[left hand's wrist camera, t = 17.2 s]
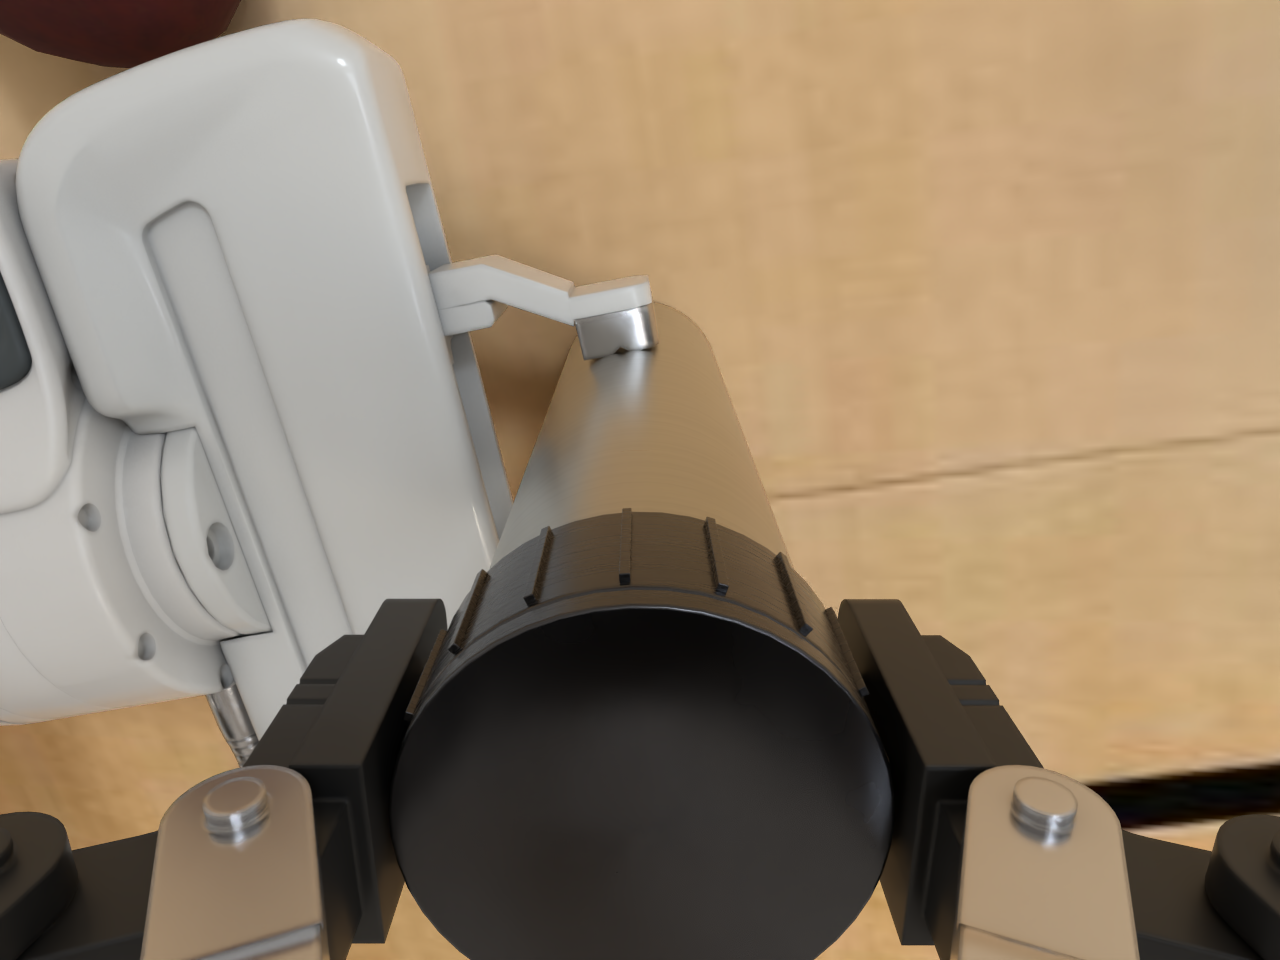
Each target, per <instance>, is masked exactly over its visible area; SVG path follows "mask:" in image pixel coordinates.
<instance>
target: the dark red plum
mask: <svg viewBox="0 0 1280 960" xmlns="http://www.w3.org/2000/svg"><path fill="white" fill-rule="evenodd" d="M240 1H241V0H0V34H2V35H4V36H6V37H9V38H11V39H13V40H15V41H17V42H19V43H21V44H23V45H25V46H27V47H29V48H31V49H33V50H35V51H38V52H42V53H46V54H50V55H55V56H59V57H63V58H67V59H72V60H76V61H81V62H86V63H90V64H95V65H100V66H107V67H120V68H133V67H135V66H138V65H140V64H143V63H145V62H148V61H151V60H153V59H156V58H159V57H162V56H165V55H167V54H170V53H173V52H176V51H178V50H181V49H184V48H187V47H190V46H194V45H197V44H200V43H203V42H206V41H209V40H213V39H216V38H217V37H218V36H219V35H220V34H222V33H223V32H224V31H225V30H226V29H227V27H228V25H229V23H230V21H231V19H232V17H233V15H234V13H235V11H236V9H237V7H238V5H239V3H240Z"/></svg>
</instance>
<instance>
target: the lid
mask: <svg viewBox="0 0 1280 960" xmlns="http://www.w3.org/2000/svg"><path fill="white" fill-rule="evenodd" d="M866 695H869V691H868V689H867V687H866V684H865V682H864V680H863V677H862V675H861V673H860V670H859V668H858V666H857V663H856V661H855V659H854V656H853V654H852V652H851V649H850V647H849V645H848V642H847V640H846V637H845V635H844V633H843V630H842V628H841V626H840V623H839V621H838V619H837V616H836V614H835V612H834V610H833V609H832V607H830V608H828V609H826V610H825V608H824V606H823V604H822V603H821V601H820V600H819V599H818V597H817V596H816V594H815V593H814V592H813V590H812V589H811V588H810V586H809V585H808V584H807V583H806V582H805V581H804V580H803V579H802V577H801V576H800V575H799V574H798V573H797V572H796V571H795V570H794V569H793V568H792V567H791V566H790V564H789V561H788V559H787V556H786V555H784V554H783V553H782V552H779V553H778V554H777V555H776V554H774V553H773V552H772V551H770V550H769V549H768V548H766V547H764V546H762V545H761V544H759V543H757V542H755V541H754V540H752V539H750V538H749V537H747V536H745V535H743V534H741V533H738V532H736V531H733V530H731V529H729V528H726V527H724V526H721V525H719V524H716V521H715V519H714V518H710V517H706V520H701V519H698V518H694V517H690V516H683V515H676V514H670V513H663V512H632V509H631V508H623V509H622V513H614V514H604V515H599V516H595V517H590V518H586V519H582V520H577V521H574V522H571V523H568V524H565V525H563V526H560V527H557V528H554V529H551V528H550V526H547V527H545V528H543V529H541V532H540V535H539V536H537V537H535V538H533V539H531V540H529V541H527V542H525V543H524V544H522V545H521V546H519V547H518V548H516V549H515V550H513V551H512V552H510V553H509V554H508V555H506V556H505V557H503V558H502V559H501V560H500V561H498V562H497V563H496V564H495V565H494V566H493V567H492V568H491V569H490V570H489V571H487V572H486V571H485V570H483V569H481V570H480V571H479V572H478V573H477V575H476V578H475V580H474V583H473V585H472V588H471V591H470V592H469V593H468V594H467V595H466V597H465V598H464V600H463V602H462V603H461V605H460V607H459V608H458V610H457V612H456V613H455V615H454V617H453V619H452V621H451V624H450V626H449V628H448V631H445V630H442V629H440V631H439V634H438V636H437V639H436V641H435V643H434V646H433V648H432V650H431V653H430V655H429V657H428V660H427V662H426V664H425V667H424V669H423V672H422V674H421V676H420V679H419V681H418V683H417V686H416V688H415V690H414V693H413V695H412V697H411V700H410V702H409V704H408V707H407V709H406V712H405V714H404V717H403V720H406V721H409V722H410V724H409V726H408V728H407V731H406V733H405V736H404V738H403V741H402V743H401V746H400V748H399V750H398V753H397V755H396V760H395V764H394V768H393V772H392V776H391V780H390V790H389V804H388V813H389V824H390V835H391V840H392V844H393V848H394V852H395V856H396V860H397V864H398V866H399V868H400V871H401V873H402V875H403V878H404V880H405V882H406V885H407V887H408V889H409V891H410V892H411V894H412V896H413V897H414V899H415V901H416V902H417V904H418V906H419V907H420V909H421V910H422V912H423V913H424V914H425V916H426V917H427V918H428V919H429V920H430V922H431V923H432V924H433V925H434V927H435V928H436V929H437V930H438V931H439V933H440V934H441V935H442V936H444V937H445V938H446V939H447V940H448V941H449V942H450V943H451V944H452V945H453V946H454V947H455V948H456V949H457V950H458V951H459V952H461V953H462V954H463V955H465V956H466V957H467V958H469V959H470V960H814V959H815V958H817V957H818V956H819V955H820V954H821V953H822V952H824V951H825V950H826V949H827V948H828V947H829V946H831V945H832V944H833V943H834V942H835V941H836V940H837V939H838V938H839V937H840V936H841V935H842V934H843V933H844V932H845V930H846V929H847V928H848V927H849V926H850V925H851V924H852V923H853V922H854V921H855V919H856V918H857V916H858V915H859V914H860V912H861V911H862V909H863V908H864V906H865V905H866V903H867V902H868V900H869V899H870V897H871V896H872V893H873V891H874V889H875V887H876V885H877V883H878V881H879V879H880V877H881V875H882V873H883V870H884V867H885V864H886V861H887V858H888V855H889V851H890V848H891V843H892V836H893V830H894V823H895V791H894V785H893V779H892V773H891V762H890V759H889V757H888V754H887V752H886V749H885V747H884V745H883V742H882V740H881V737H880V735H879V733H878V730H877V728H876V725H875V723H874V721H873V718H872V716H871V713H870V711H869V708H868V706H867V704H866V701H865V699H864V696H866Z"/></svg>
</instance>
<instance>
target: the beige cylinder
mask: <svg viewBox="0 0 1280 960" xmlns="http://www.w3.org/2000/svg"><path fill="white" fill-rule="evenodd" d="M653 304H654V311H655V317H656V323H657V329H658V335H659V344H658V345H655V346H653V347H651V348H647V349H643V350H638V351H628V350H626V349H624V348H622V347H620V348H619V349H618V350H617V351H616V352H615V353H614V354H612V355H609V356H606V357H601V358H595V359H590V360H584V359H583V355H582V351H581V346H580V342H579V338H578V335H577V336H576V338H575V340H574V342H573V344H572V346H571V348H570V351H569V353H568V356H567V359H566V362H565V364H564V367H563V370H562V372H561V375H560V378H559V381H558V383H557V386H556V389H555V391H554V394H553V397H552V400H551V402H550V405H549V408H548V410H547V413H546V416H545V419H544V421H543V424H542V427H541V429H540V432H539V435H538V438H537V440H536V443H535V446H534V448H533V451H532V454H531V457H530V459H529V462H528V465H527V467H526V470H525V473H524V476H523V478H522V481H521V484H520V486H519V489H518V492H517V495H516V497H515V500H514V503H513V505H512V508H511V511H510V514H509V516H508V519H507V522H506V524H505V527H504V530H503V533H502V535H501V538H500V541H499V543H498V546H497V549H496V552H495V554H494V557H493V560H492V562H491V565H490V568H489V570H490V569H491V568H492V567H493V566H494V565H495V564H496V563H497V562H498V561H500V560H501V559H502V558H503V557H505V556H506V555H508V554H509V553H510V552H512V551H513V550H515V549H516V548H518V547H519V546H521V545H522V544H524V543H525V542H527V541H529V540H531V539H533V538H535V537H537V536H539V535H540V532H541V529H543V528H545V527H547V526H550V528H551V529H554V528H557V527H560V526H563V525H565V524H568V523H571V522H574V521H577V520H582V519H586V518H590V517H595V516H599V515H604V514H614V513H622V509H623V508H631V509H632V512H663V513H670V514H676V515H683V516H690V517H694V518H698V519H701V520H706V517H710V518H714V519H715V521H716V524H719V525H721V526H724V527H726V528H729V529H731V530H733V531H736V532H738V533H741V534H743V535H745V536H747V537H749V538H750V539H752V540H754V541H755V542H757V543H759V544H761V545H762V546H764V547H766V548H768V549H769V550H770V551H772V552H773V553H774V554H776V555H777V554H778V553H779V552H782V553H783V554H784V555H786V556H787V559H788V561H789V564H790V566H791V567H792V568H793V565H792V563H791V560H790V557H789V555H788V552H787V549H786V546H785V544H784V541H783V538H782V536H781V533H780V530H779V528H778V525H777V522H776V520H775V517H774V514H773V512H772V509H771V506H770V504H769V501H768V498H767V496H766V493H765V490H764V488H763V485H762V482H761V480H760V477H759V474H758V472H757V469H756V466H755V463H754V461H753V458H752V455H751V453H750V450H749V447H748V445H747V442H746V439H745V437H744V434H743V431H742V429H741V426H740V423H739V421H738V418H737V415H736V413H735V410H734V407H733V405H732V402H731V399H730V397H729V394H728V391H727V389H726V386H725V383H724V380H723V378H722V375H721V372H720V370H719V367H718V364H717V362H716V359H715V356H714V354H713V351H712V349H711V346H710V344H709V342H708V340H707V338H706V337H705V335H704V334H703V332H702V331H701V330H700V328H699V327H698V326H697V325H696V324H695V323H694V322H693V321H692V320H691V319H690V318H688V317H687V316H686V315H684V314H683V313H681V312H679V311H678V310H676V309H674V308H672V307H669V306H666V305H664V304H659V303H655V302H653ZM793 569H794V568H793Z"/></svg>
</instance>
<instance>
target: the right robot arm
mask: <svg viewBox="0 0 1280 960" xmlns="http://www.w3.org/2000/svg"><path fill="white" fill-rule="evenodd" d="M508 305H510V306H513V307H516V308H519V309H522V310H525V311H528V312H531V313H534V314H537V315H540V316H543V317H546V318H550V319H553V320H556V321H559V322H562V323H565V324H568V325H571V326H574V325H576V329H577V334H578V338H579V342H580V346H581V351H582V355H583V359H584V360H590V359H595V358H601V357H606V356H609V355H612V354H614V353H615V352H616V351H617V350H618V349H619V348H620V347H622V348H624V349H626V350H628V351H638V350H643V349H647V348H651V347H653V346H655V345H658V344H659V335H658V329H657V323H656V317H655V311H654V304H653V298H652V293H651V288H650V283H649V278H648V275H636V276H630V277H624V278H619V279H614V280H609V281H603V282H598V283H593V284H588V285H582V286H577V287H575V286H574V282H573V281H570V280H567V279H564V278H561V277H559V276H556V275H553V274H550V273H547V272H545V271H542V270H539V269H536V268H533V267H531V266H528V265H525V264H522V263H520V262H517V261H514V260H511V259H508V258H506V257H503V256H500V255H497V254H495V255H489V256H484V257H479V258H474V259H469V260H464V261H459V262H454V263H452V260H451V256H450V252H449V248H448V245H447V241H446V237H445V233H444V229H443V225H442V221H441V217H440V213H439V209H438V206H437V202H436V198H435V194H434V190H433V186H432V182H431V178H430V174H429V170H428V167H427V163H426V159H425V155H424V151H423V147H422V143H421V139H420V135H419V132H418V128H417V124H416V120H415V116H414V112H413V108H412V104H411V100H410V96H409V92H408V88H407V84H406V81H405V77H404V74H403V71H402V69H401V67H400V65H399V64H398V62H397V61H396V60H395V59H394V58H393V57H392V56H391V55H389V54H388V53H386V52H385V51H383V50H382V49H380V48H379V47H377V46H376V45H374V44H373V43H372V42H370V41H369V40H367V39H366V38H364V37H362V36H361V35H359V34H357V33H355V32H354V31H352V30H350V29H348V28H346V27H344V26H341V25H338V24H335V23H332V22H328V21H324V20H319V19H295V20H287V21H282V22H277V23H272V24H267V25H263V26H258V27H255V28H251V29H248V30H244V31H240V32H237V33H233V34H230V35H226V36H222V37H219V38H216V39H213V40H209V41H206V42H203V43H200V44H197V45H194V46H190V47H187V48H184V49H181V50H178V51H176V52H173V53H170V54H167V55H165V56H162V57H159V58H156V59H153V60H151V61H148V62H145V63H143V64H140V65H138V66H135V67H133V68H131V69H128V70H126V71H123V72H121V73H118V74H116V75H113V76H111V77H109V78H106V79H104V80H102V81H99V82H97V83H95V84H92V85H90V86H88V87H86V88H84V89H83V90H81V91H79V92H77V93H75V94H73V95H71V96H69V97H68V98H66V99H65V100H63V101H62V102H60V103H59V104H57V105H56V106H55V107H54V108H52V109H51V110H50V111H49V112H47V113H46V114H45V115H44V116H43V117H42V118H41V119H40V120H39V122H38V123H37V124H36V125H35V127H34V128H33V129H32V131H31V132H30V134H29V135H28V137H27V139H26V141H25V143H24V145H23V147H22V150H21V153H20V156H19V159H2V160H0V726H10V725H24V724H31V723H38V722H45V721H50V720H56V719H62V718H68V717H73V716H79V715H85V714H91V713H97V712H103V711H109V710H115V709H121V708H129V707H136V706H142V705H148V704H154V703H160V702H166V701H172V700H178V699H184V698H189V697H195V696H201V695H205V696H206V699H207V701H208V703H209V706H210V708H211V711H212V713H213V715H214V718H215V720H216V723H217V725H218V727H219V729H220V731H221V733H222V735H223V737H224V739H225V740H226V742H227V743H228V745H229V746H230V748H231V750H232V752H233V753H234V755H235V758H236V760H237V762H238V764H239V767H240V768H241V767H243V765H244V764H245V762H246V761H247V759H248V758H249V756H250V755H251V753H252V752H253V750H254V748H255V747H256V745H257V744H258V742H259V741H260V739H261V738H262V736H263V735H264V733H265V732H266V730H267V729H268V727H269V725H270V724H271V722H272V721H273V719H274V718H275V716H276V715H277V713H278V712H279V710H280V709H281V707H282V706H283V704H286V703H287V698H288V696H289V695H290V693H291V692H292V690H293V689H294V687H295V686H296V684H299V683H300V678H301V677H302V675H303V673H304V672H305V670H306V669H307V667H308V666H309V664H310V663H311V661H312V660H313V658H314V657H315V655H316V654H318V653H319V652H321V651H322V650H323V649H325V648H326V647H328V646H329V645H331V644H332V643H333V642H335V641H336V640H338V639H339V638H340V637H342V636H343V635H364V634H365V632H366V631H367V629H368V627H369V625H370V624H371V622H372V620H373V619H374V617H375V615H376V613H377V612H378V610H379V608H380V606H381V605H382V603H383V602H384V600H386V599H442V601H443V603H444V605H445V610H446V617H447V628H449V626H450V624H451V621H452V619H453V617H454V615H455V613H456V612H457V610H458V608H459V607H460V605H461V603H462V602H463V600H464V598H465V597H466V595H467V594H468V593H469V592H470V591H471V588H472V585H473V583H474V580H475V578H476V575H477V573H478V572H479V571H480V570H481V569H483V570H485V571H486V572H487V571H489V568H490V565H491V562H492V560H493V557H494V554H495V552H496V549H497V546H498V543H499V541H500V538H501V535H502V533H503V530H504V527H505V524H506V522H507V519H508V516H509V514H510V511H511V508H512V505H513V503H514V502H513V498H512V494H511V490H510V486H509V482H508V479H507V475H506V471H505V467H504V463H503V459H502V455H501V451H500V447H499V443H498V440H497V436H496V432H495V428H494V424H493V420H492V416H491V412H490V408H489V404H488V401H487V397H486V393H485V389H484V385H483V381H482V377H481V373H480V369H479V365H478V362H477V358H476V354H475V350H474V346H473V342H472V338H471V334H470V331H474V330H479V329H484V328H488V327H491V326H492V325H493V324H494V323H495V322H496V321H497V320H498V318H499V317H500V316H501V315H502V314H503V313H504V312H505V310H506V309H507V307H508Z"/></svg>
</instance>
